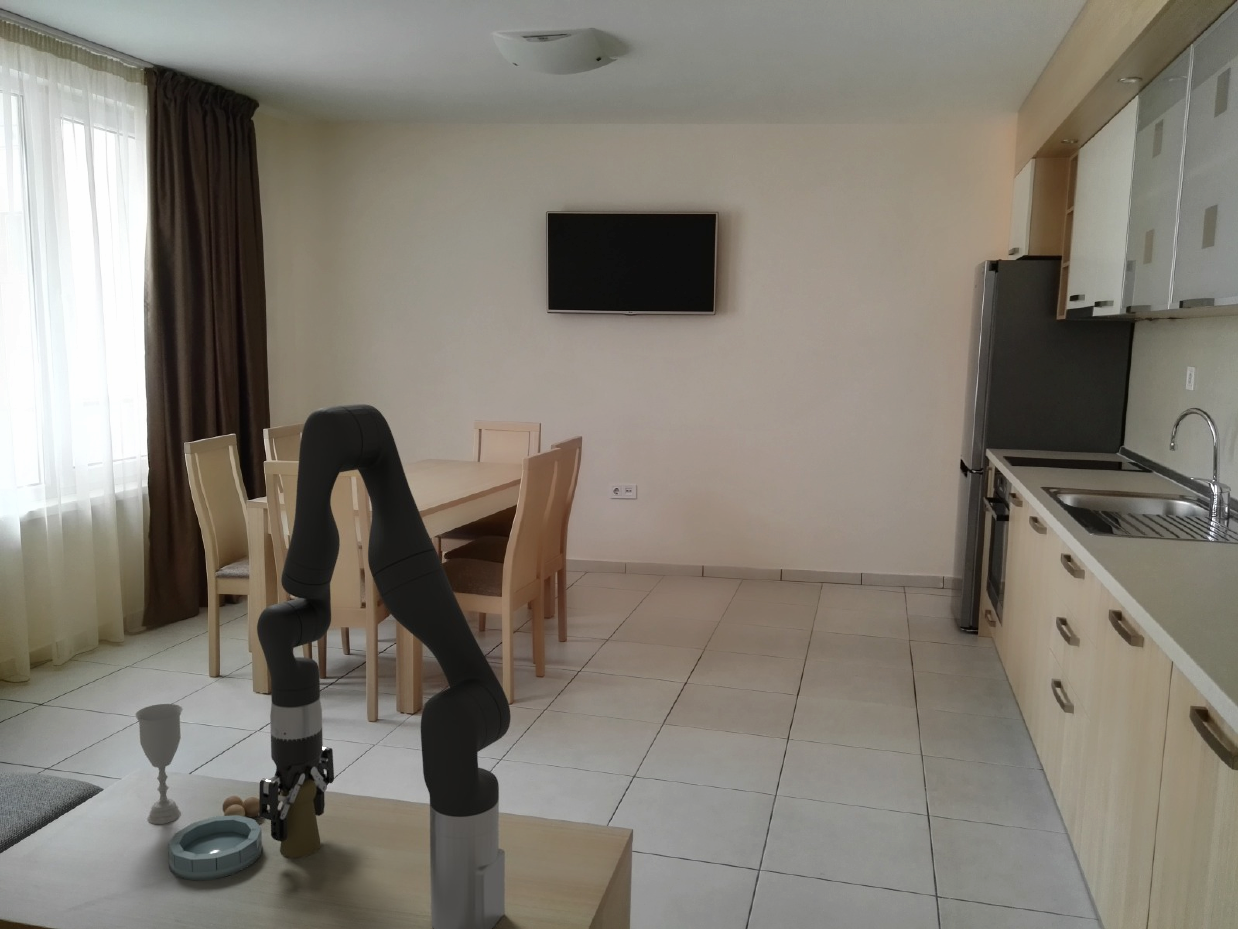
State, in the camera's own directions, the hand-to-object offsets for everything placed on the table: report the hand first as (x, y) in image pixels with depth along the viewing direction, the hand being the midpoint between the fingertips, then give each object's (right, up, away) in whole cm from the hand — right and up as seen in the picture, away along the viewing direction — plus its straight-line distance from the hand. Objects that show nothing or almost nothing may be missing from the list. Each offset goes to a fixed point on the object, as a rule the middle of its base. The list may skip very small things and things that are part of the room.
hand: (298, 826), depth 145 cm
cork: (0, -4, 0) cm, 4 cm away
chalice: (-25, -2, +9) cm, 27 cm away
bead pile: (-13, -2, +9) cm, 15 cm away
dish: (-12, -4, -3) cm, 13 cm away
